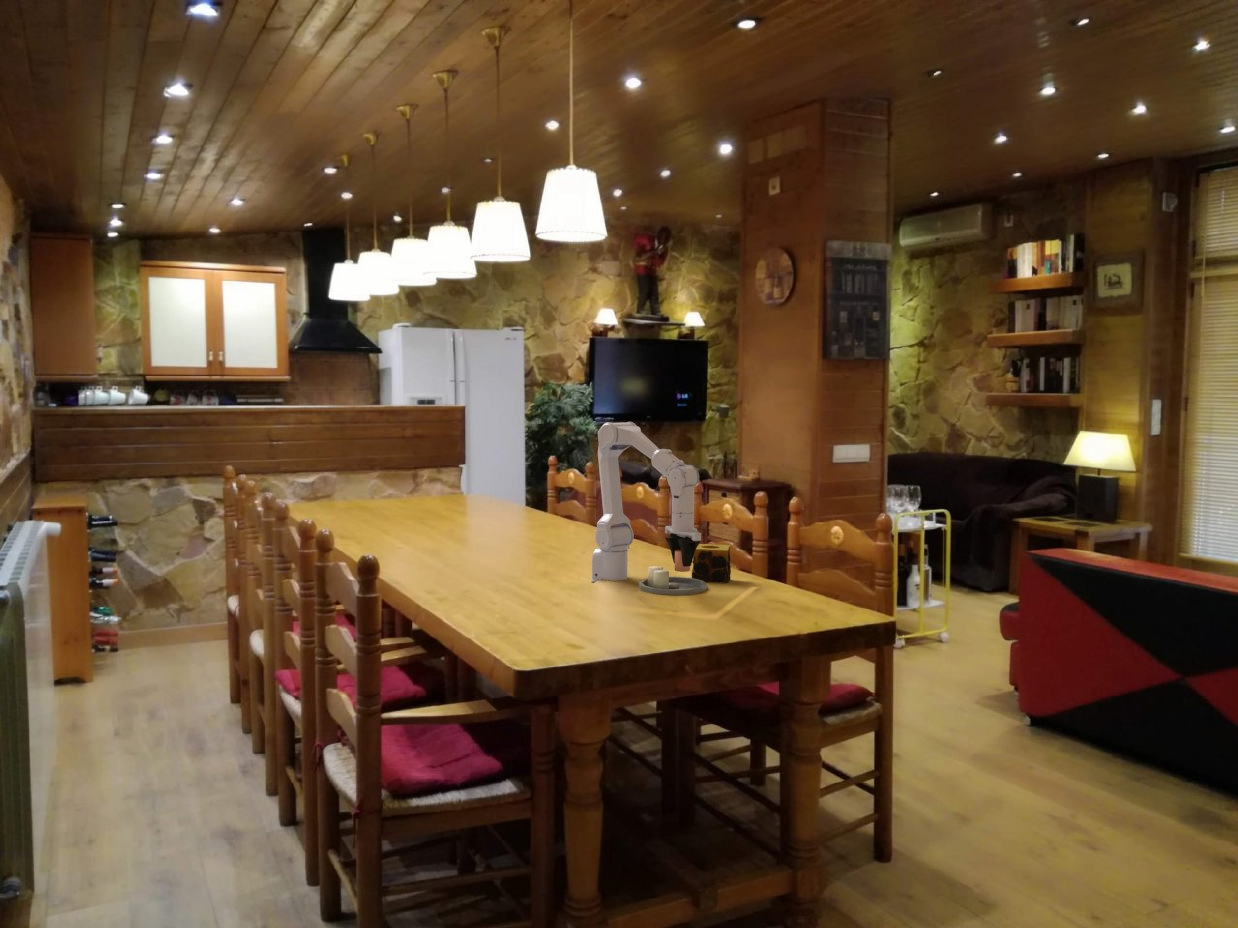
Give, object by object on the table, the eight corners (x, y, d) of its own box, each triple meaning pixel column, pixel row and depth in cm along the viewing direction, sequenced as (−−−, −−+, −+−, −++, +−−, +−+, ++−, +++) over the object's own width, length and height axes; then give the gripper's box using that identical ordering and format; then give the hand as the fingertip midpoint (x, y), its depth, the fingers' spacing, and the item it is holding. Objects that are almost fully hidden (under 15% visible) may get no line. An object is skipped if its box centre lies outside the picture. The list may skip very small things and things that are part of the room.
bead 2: (685, 572, 243) (686, 552, 242) (671, 570, 245) (672, 551, 244) (692, 569, 246) (693, 550, 246) (679, 568, 248) (679, 549, 248)
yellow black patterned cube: (728, 587, 257) (728, 550, 256) (691, 585, 259) (691, 548, 258) (731, 579, 267) (732, 544, 266) (695, 578, 269) (696, 543, 268)
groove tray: (629, 594, 245) (629, 586, 245) (652, 582, 262) (652, 574, 261) (694, 601, 239) (694, 592, 239) (713, 587, 255) (713, 579, 255)
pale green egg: (651, 591, 245) (651, 572, 245) (656, 588, 249) (656, 569, 249) (665, 592, 244) (666, 573, 244) (670, 589, 248) (671, 570, 247)
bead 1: (646, 584, 253) (646, 566, 253) (661, 584, 254) (661, 566, 254) (649, 587, 249) (649, 569, 249) (664, 587, 250) (664, 568, 250)
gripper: (711, 514, 240) (710, 568, 241) (681, 508, 253) (680, 558, 254) (687, 516, 236) (687, 570, 238) (658, 509, 249) (657, 561, 250)
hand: (682, 564), depth 245 cm, fingers closed on bead 2, 4 cm apart
